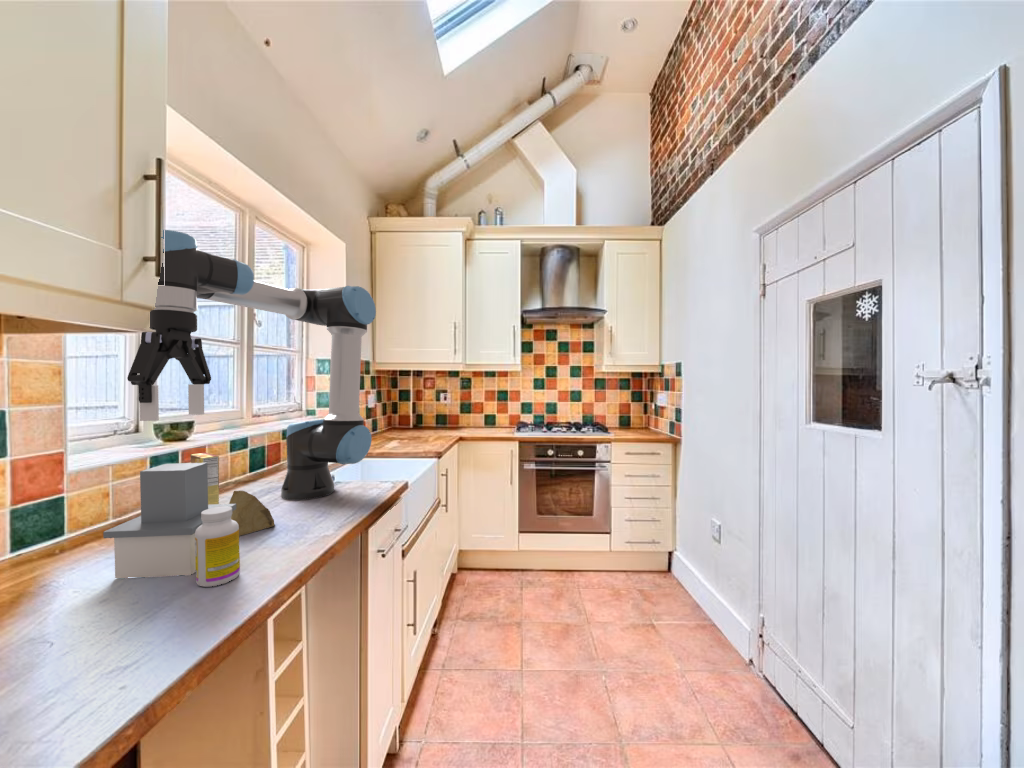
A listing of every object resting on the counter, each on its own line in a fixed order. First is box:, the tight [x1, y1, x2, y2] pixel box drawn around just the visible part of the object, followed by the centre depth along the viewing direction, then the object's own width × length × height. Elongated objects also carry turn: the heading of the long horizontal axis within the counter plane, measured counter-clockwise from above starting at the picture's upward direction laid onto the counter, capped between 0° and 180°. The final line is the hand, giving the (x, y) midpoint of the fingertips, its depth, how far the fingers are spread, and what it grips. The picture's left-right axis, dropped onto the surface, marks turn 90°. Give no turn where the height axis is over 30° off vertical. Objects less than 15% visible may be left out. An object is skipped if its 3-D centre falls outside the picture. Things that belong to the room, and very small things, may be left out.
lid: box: [102, 462, 236, 539], centre depth 85 cm, size 15×15×11 cm
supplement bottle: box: [195, 506, 241, 588], centre depth 77 cm, size 7×7×13 cm
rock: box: [228, 490, 276, 537], centre depth 101 cm, size 11×9×10 cm
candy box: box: [190, 452, 220, 505], centre depth 118 cm, size 9×4×15 cm, turn 55°
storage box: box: [113, 533, 196, 579], centre depth 85 cm, size 13×13×8 cm
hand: (174, 417), depth 84 cm, fingers open, 13 cm apart
